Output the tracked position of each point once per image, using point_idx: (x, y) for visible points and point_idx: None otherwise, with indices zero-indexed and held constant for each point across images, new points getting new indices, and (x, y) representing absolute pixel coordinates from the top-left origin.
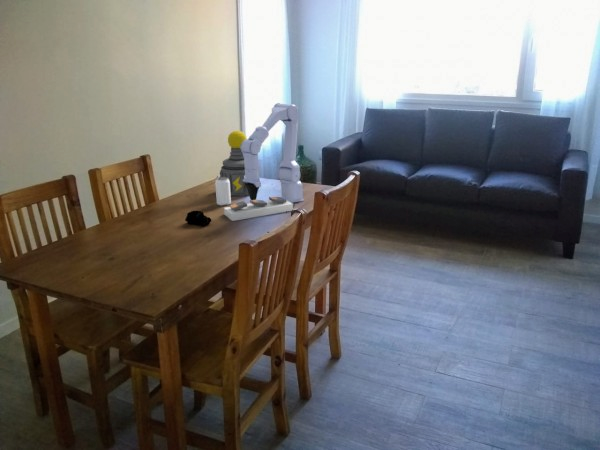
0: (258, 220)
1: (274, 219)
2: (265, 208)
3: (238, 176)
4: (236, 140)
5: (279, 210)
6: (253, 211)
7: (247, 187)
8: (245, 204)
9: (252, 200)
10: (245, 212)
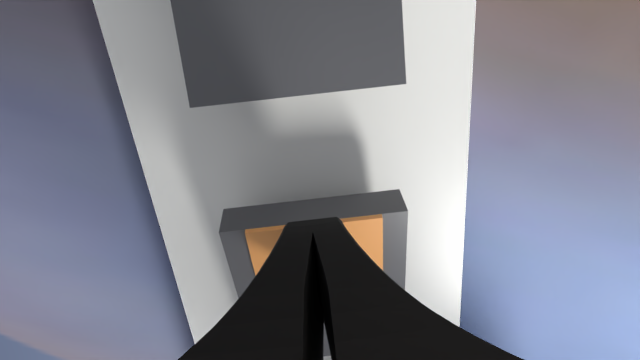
0: (40, 144)
1: (44, 288)
2: (182, 299)
3: None
4: None
5: None
6: (142, 149)
7: None
8: (193, 78)
9: (352, 236)
10: (105, 27)
